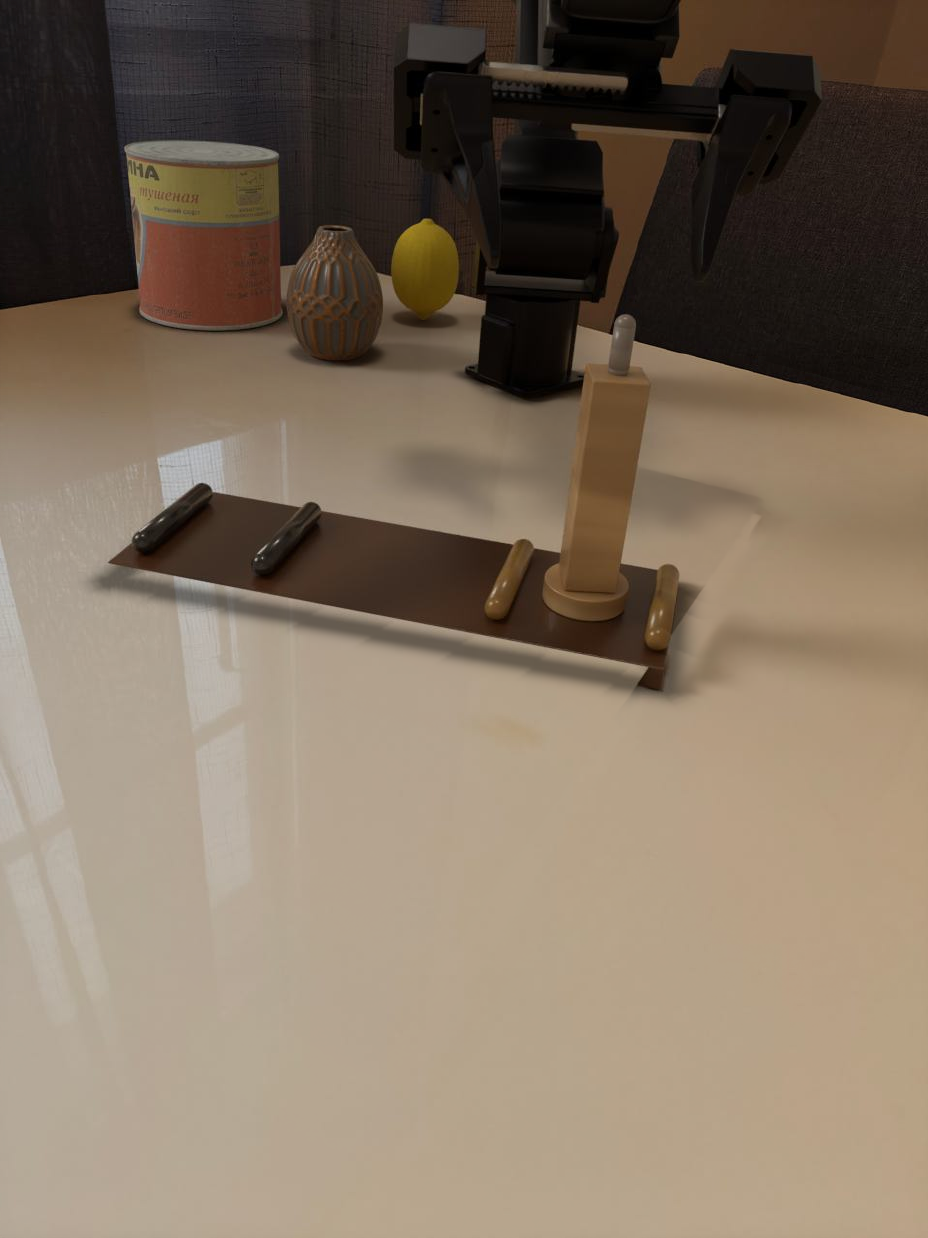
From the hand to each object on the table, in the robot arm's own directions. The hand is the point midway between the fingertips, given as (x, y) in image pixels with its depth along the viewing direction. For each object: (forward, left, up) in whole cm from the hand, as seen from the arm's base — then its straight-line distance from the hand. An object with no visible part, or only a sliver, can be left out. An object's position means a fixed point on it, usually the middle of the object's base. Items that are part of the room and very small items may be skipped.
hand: (598, 269), depth 44 cm
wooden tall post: (+5, +6, -12) cm, 14 cm away
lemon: (-21, -35, -13) cm, 43 cm away
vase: (-9, -31, -13) cm, 35 cm away
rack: (+10, -1, -13) cm, 16 cm away
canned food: (-7, -45, -13) cm, 47 cm away
